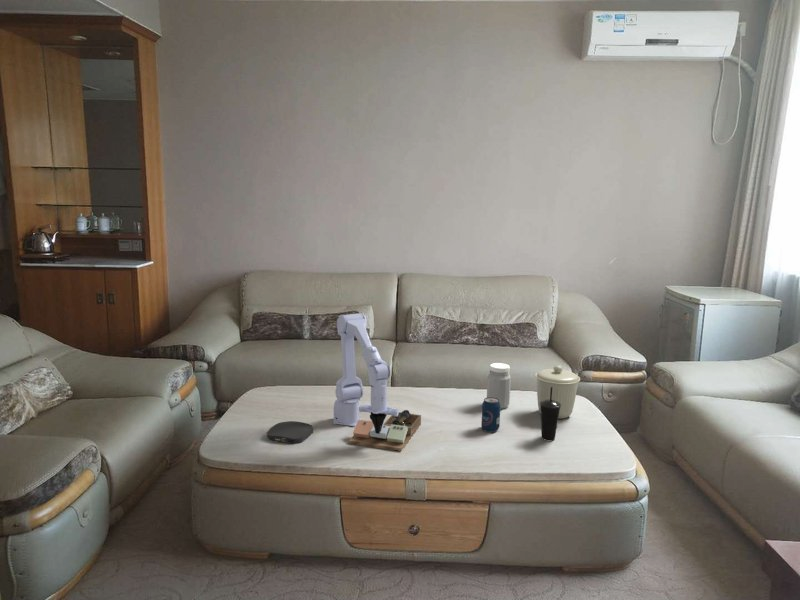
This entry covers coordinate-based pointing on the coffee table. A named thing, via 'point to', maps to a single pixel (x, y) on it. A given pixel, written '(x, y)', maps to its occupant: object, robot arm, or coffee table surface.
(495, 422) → the soda can
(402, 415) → the eagle figurine
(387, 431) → the tile
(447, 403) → the coffee table surface
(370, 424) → the tile
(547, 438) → the drinking cup
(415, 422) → the board
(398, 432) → the tile
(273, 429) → the media streaming box
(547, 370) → the canister
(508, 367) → the jar
